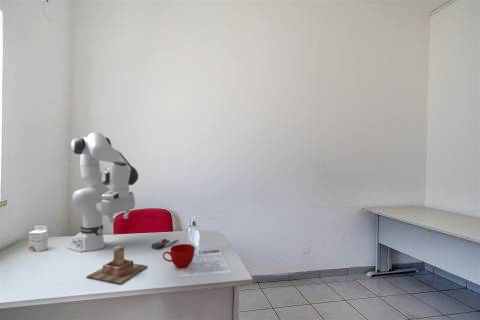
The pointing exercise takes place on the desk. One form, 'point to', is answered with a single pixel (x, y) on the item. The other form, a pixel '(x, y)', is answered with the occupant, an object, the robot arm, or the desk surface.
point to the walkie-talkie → (162, 244)
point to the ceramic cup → (181, 255)
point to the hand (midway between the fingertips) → (119, 220)
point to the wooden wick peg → (118, 256)
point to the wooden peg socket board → (117, 272)
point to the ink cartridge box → (38, 238)
